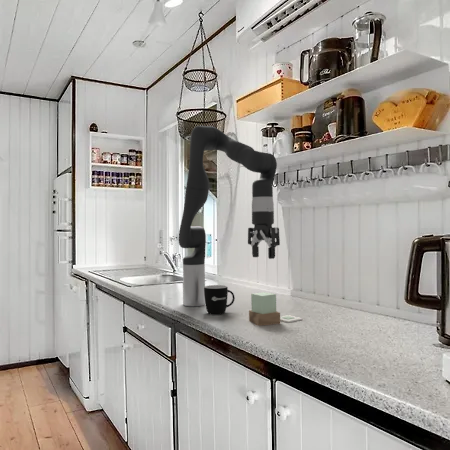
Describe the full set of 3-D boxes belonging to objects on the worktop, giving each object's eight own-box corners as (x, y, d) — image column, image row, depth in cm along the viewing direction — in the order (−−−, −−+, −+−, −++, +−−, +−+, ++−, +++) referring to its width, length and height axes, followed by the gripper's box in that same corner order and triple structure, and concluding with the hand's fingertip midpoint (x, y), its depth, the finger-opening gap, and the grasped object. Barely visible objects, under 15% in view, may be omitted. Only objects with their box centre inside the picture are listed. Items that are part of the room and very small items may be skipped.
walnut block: (249, 321, 149) (248, 310, 149) (270, 319, 152) (269, 308, 152) (258, 326, 142) (258, 314, 142) (280, 324, 144) (280, 312, 144)
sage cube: (251, 311, 147) (251, 293, 147) (265, 309, 151) (265, 292, 151) (262, 314, 142) (262, 296, 142) (276, 311, 146) (276, 294, 146)
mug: (208, 316, 158) (208, 288, 158) (201, 312, 166) (201, 285, 166) (238, 313, 162) (238, 286, 162) (230, 309, 170) (230, 284, 170)
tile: (273, 319, 151) (273, 317, 151) (288, 316, 155) (288, 314, 155) (287, 322, 145) (287, 320, 145) (302, 319, 149) (302, 317, 149)
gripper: (241, 211, 151) (242, 257, 151) (267, 209, 139) (268, 259, 139) (258, 211, 155) (258, 256, 155) (285, 209, 143) (285, 258, 143)
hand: (263, 257), depth 147 cm, fingers open, 8 cm apart
